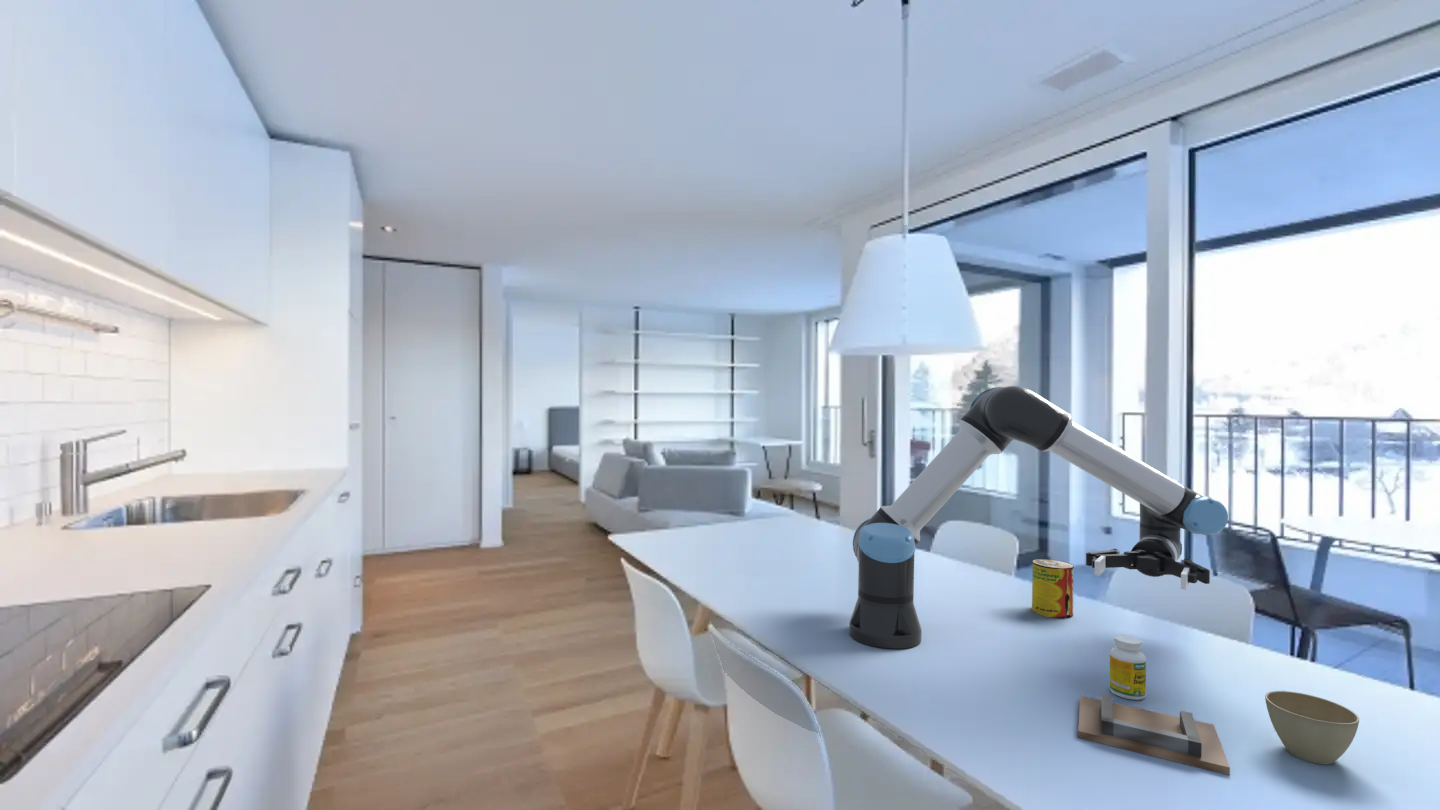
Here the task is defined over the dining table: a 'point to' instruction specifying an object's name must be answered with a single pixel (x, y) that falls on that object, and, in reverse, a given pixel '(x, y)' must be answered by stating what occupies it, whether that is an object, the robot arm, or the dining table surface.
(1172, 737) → the u rest
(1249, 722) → the dining table surface
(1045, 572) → the yellow red tin can
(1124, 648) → the supplement bottle
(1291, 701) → the beige bowl
